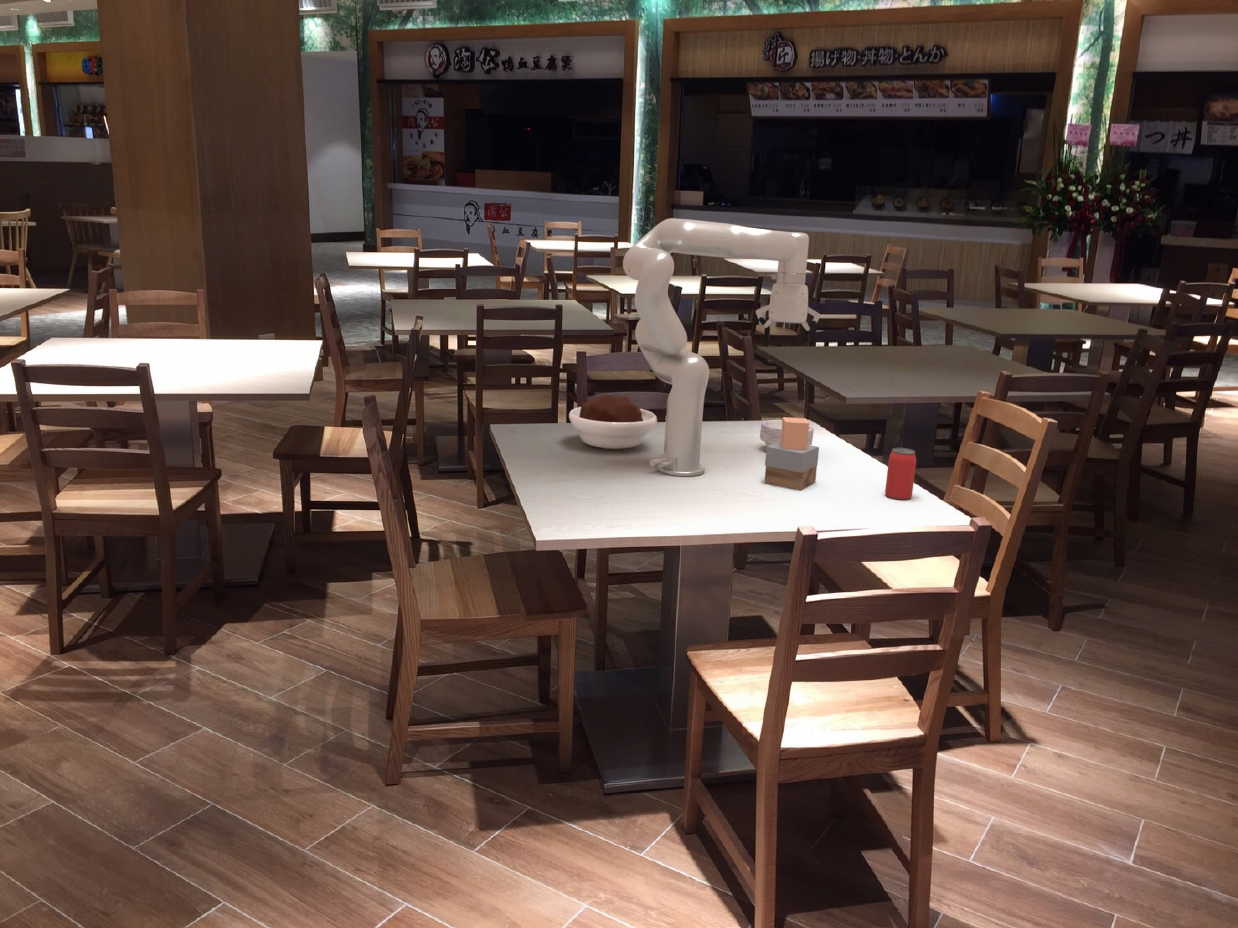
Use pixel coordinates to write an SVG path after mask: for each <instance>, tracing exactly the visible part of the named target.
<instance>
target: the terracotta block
mask: <svg viewBox="0 0 1238 928" xmlns="http://www.w3.org/2000/svg"><path fill="white" fill-rule="evenodd" d="M781 420H782V431H781V442H780V444H781V446H782V448H783V449H790V450H807V442H808V432H809V425H810V423H809V420H808V419H807V418H803V417H802V418H801V417H785V416H784V417H782V419H781Z"/></svg>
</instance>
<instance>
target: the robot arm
mask: <svg viewBox="0 0 1238 928" xmlns="http://www.w3.org/2000/svg"><path fill="white" fill-rule="evenodd" d="M809 238H810V237H809V235H808V234H807V233H806V232H800V231H799V232H798V231H782V230H772V229H763V228H754V227H749V226H744V225H739V224H732V223H726V222H714V221H707V220H706V221H705V220H699V219H698V220H697V219H696V220H695V219H687V218H674V217H673V218H666V219H663V220H662V221H661V222H659V223H658V224H657V225H655V226H654V227H653V228H652V229H651V230H649V231H648V232H647V233H646V234H645V235H644V236H642V238H640V239H639V240H638V241H637V242H635V243H634V244H633V245H631V247H630V248H629V249H628V250H627V252H625V255H624V257H623V260H622V267H623V270H624V273H625V274H626V276H628V278H630V279H633V280H634V281H637V284H636V288H635V294H634V304H635V305H634V306H635V309H636V311H637V314H638V317H639V318H640V319H639V320H638V322H637V323H636V327H635V332H634V334H635V339H636V343H637V345H638V348H639V349H640V351H641V352H642V354H643V356H644V358H645V360H646V361H647V363H648V365H649V366H650V369H651V370H652V371H653V373H654V375H655V376H656V377H657V378H658V379H659V380H660V381H662V382H664V383H667V384H669V385H672V386H671V389H670V392H669V394H668V397H667V402H666V411H665V412H666V414H665V415H666V416H665V430H664V447H663V448H664V449H663V450H664V451H663V453H661V454H660V457H658V458H654V459H652V458H651V459H650V460H649V466H650V467H652V468H653V467H657V468H656V469H657V471H658V472H660V473H662V474H666V475H670V476H677V477H694V476H695V477H696V476H700V475H703V474H704V473H705V471H706V467H705V466H704V465H703V464H700V460H701V459H700V458H701V445H702V444H701V441H702V428H703V415H704V414H703V413H704V404H705V395H706V390H707V385H708V382H709V379H710V368H709V364H708V363H707V361H706V360H705V358H704V357H703V356H701V355H700V354H698V353H695V352H692V351H688V350H685V348H686V346H687V343H688V336H687V335H688V334H687V332H686V330H685V328H684V325H683V323H682V322H681V319H680V318H679V317H678V314H677V313H676V311H675V309H674V307H673V305H672V302H671V301H670V298H669V295H668V294H669V291H668V290H669V285H670V283H671V280H672V277H673V274H674V270H675V262H674V258H673V256H672V253H678V254H684V255H693V256H705V257H715V258H723V259H724V258H725V259H727V258H728V259H752V260H764V261H774V262H775V261H776V262H777V272H776V273H771V280H773V281H776V283H773V285H772V288H771V292H770V293H771V294H770V299H769V304H768V305H766V306H763V307H761V308H758V309H756V310H755V314H756V316H757V319H758V321H759V323H760V324H761V325H762V326H763V327H764V331H763V332H764V333H763V340H765V343H767V344H768V343H770V338H771V337H770V336H771V327H770V326H771V325H772V323H773V322H775V323H776V322H777V323H785V324H786V323H789V324H801V325H802V327H803V331H802V338H801V339H802V341H801V345H802V346H805V345H806V343H808V341H809V338H808V337H809V332H810V330H811V329H813V327H814V326H815V325H817V323H818V322H819V320H820V318H821V314H820V313H819V312H817V311H816V310H814V309H812V308H810V307H809V288H808V285H806V275H807V264H808V256H809V255H808V254H809V245H810V244H809V243H810V239H809ZM767 311H768V319H767V320H766V319H765V318H764V317H763V313H765V312H767ZM808 314H810V315H811V316H813V319H812V320H811V321H810V322H809V323H808V322H807V318H808Z"/></svg>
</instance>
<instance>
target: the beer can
mask: <svg viewBox="0 0 1238 928" xmlns="http://www.w3.org/2000/svg"><path fill="white" fill-rule="evenodd" d="M916 465H917V457H916V451H915V450H913V449H910V448H908V447H907V448H905V447H894V448H892V449H891V452H890V455H889V457H888V464H887V472H886V479H885V480H886V481H885V489H884V494H885V496H886V497H888V498H890V499H893V500H900V501H902V500H904V501H905V500H909V499H911V498H912V496H913V491H914V483H915V475H916V469H917V468H916V467H917V466H916Z"/></svg>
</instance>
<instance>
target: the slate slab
mask: <svg viewBox="0 0 1238 928" xmlns="http://www.w3.org/2000/svg"><path fill="white" fill-rule="evenodd" d="M819 452H820V446H818V445H817V446H815V445H812V444H811V445H807V450H790V449H783V448H782V446H781V444H780V442H778V443H775V444H772V445H770V446H766V451H765V459H764V460H765V463H764V466H765V467H766V466H769V467H774V468H779V469H784V470H789V471H794V472H799V473H801V472H804V471H806V470H808V469H811V468H813V467H815V466H817V467H818V463H819V462H818V461H819Z"/></svg>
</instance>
